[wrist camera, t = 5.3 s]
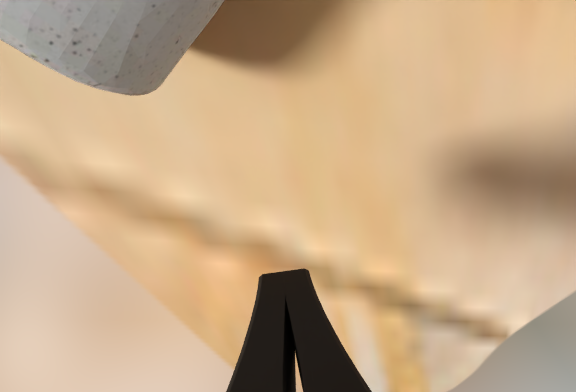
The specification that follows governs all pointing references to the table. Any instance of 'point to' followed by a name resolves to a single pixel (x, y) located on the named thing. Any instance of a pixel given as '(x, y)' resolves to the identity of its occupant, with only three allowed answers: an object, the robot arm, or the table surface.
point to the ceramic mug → (106, 38)
